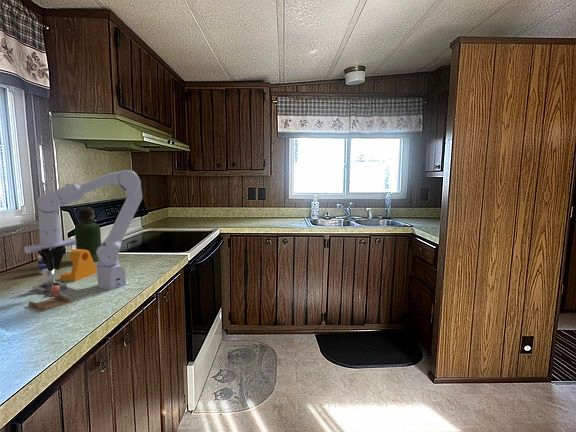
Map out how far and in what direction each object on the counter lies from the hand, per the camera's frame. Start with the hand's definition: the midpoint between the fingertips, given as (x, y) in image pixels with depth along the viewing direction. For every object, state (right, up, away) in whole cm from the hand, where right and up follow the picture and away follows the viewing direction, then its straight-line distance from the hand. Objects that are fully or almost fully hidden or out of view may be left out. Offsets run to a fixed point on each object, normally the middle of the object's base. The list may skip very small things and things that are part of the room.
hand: (53, 269), depth 109 cm
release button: (0, -8, +1) cm, 8 cm away
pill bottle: (-23, -6, +28) cm, 37 cm away
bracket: (-4, -7, +20) cm, 22 cm away
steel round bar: (-5, -8, +6) cm, 11 cm away
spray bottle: (-17, -3, +47) cm, 50 cm away
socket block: (-3, -9, +5) cm, 11 cm away
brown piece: (+4, -11, -7) cm, 14 cm away
